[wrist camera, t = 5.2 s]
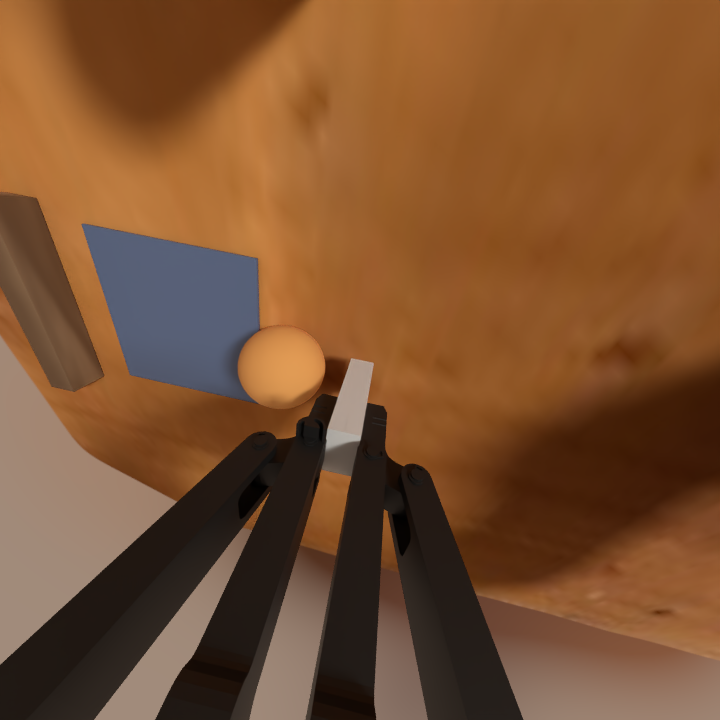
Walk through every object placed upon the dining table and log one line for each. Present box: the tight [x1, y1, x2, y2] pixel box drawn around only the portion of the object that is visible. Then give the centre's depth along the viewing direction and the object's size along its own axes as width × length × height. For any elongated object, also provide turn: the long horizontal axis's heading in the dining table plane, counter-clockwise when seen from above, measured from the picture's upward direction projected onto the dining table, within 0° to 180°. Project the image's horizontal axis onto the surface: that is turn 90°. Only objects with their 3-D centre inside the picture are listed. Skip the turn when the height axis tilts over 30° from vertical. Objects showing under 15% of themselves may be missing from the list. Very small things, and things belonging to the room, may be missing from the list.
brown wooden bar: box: [0, 192, 104, 392], centre depth 19 cm, size 2×14×2 cm, turn 170°
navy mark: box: [82, 224, 260, 404], centre depth 20 cm, size 12×12×1 cm
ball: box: [238, 325, 325, 409], centre depth 17 cm, size 6×6×6 cm
